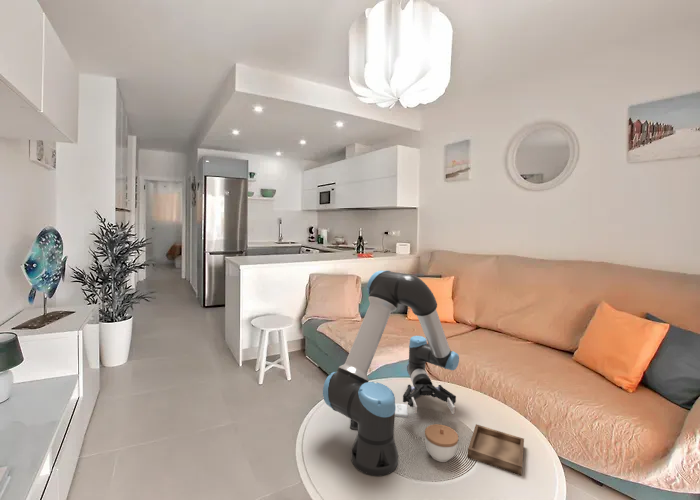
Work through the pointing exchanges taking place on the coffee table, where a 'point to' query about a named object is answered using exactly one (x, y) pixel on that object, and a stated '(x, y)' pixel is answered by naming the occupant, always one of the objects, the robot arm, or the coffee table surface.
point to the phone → (354, 425)
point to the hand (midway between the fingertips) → (434, 410)
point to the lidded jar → (441, 442)
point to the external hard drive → (401, 410)
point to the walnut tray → (497, 449)
